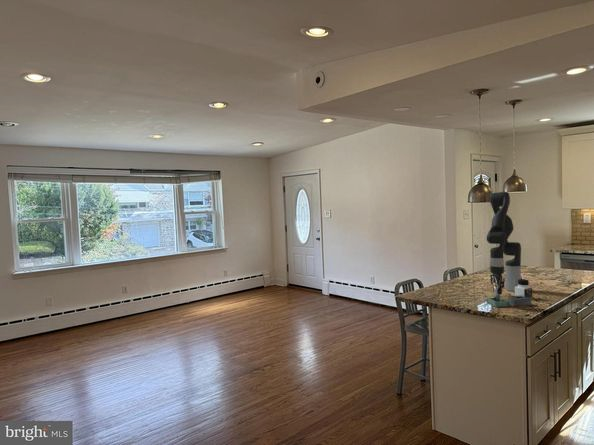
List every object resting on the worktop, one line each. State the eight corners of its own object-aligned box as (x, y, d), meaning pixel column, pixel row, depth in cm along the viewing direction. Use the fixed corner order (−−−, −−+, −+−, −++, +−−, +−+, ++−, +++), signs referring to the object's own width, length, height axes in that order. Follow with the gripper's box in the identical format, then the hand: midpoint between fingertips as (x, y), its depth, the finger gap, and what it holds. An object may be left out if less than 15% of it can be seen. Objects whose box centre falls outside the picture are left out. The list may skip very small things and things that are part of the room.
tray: (486, 302, 254) (486, 297, 254) (499, 302, 254) (499, 297, 254) (495, 307, 242) (495, 302, 242) (509, 307, 242) (509, 302, 242)
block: (508, 302, 253) (508, 295, 253) (522, 301, 253) (522, 295, 252) (515, 306, 244) (515, 299, 244) (531, 305, 244) (531, 298, 243)
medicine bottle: (524, 299, 257) (524, 280, 257) (514, 297, 264) (514, 279, 263) (532, 298, 260) (532, 279, 260) (522, 296, 267) (522, 277, 266)
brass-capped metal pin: (491, 300, 252) (491, 282, 251) (498, 300, 251) (498, 282, 251) (495, 302, 247) (494, 284, 246) (502, 302, 247) (502, 283, 246)
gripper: (485, 263, 254) (485, 291, 255) (496, 267, 240) (497, 296, 241) (497, 263, 254) (498, 290, 255) (509, 266, 240) (509, 295, 241)
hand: (497, 293), depth 248 cm, fingers open, 4 cm apart
